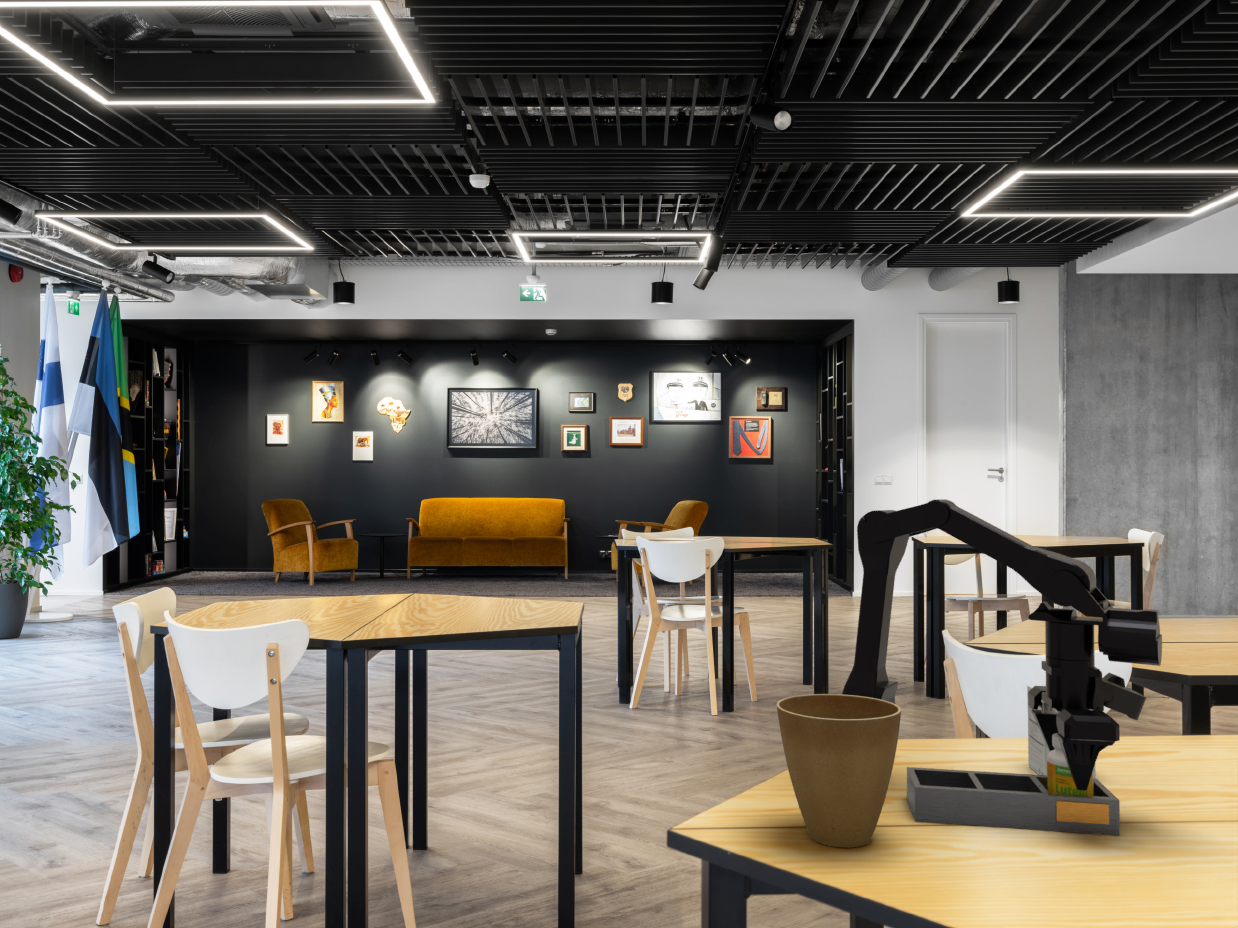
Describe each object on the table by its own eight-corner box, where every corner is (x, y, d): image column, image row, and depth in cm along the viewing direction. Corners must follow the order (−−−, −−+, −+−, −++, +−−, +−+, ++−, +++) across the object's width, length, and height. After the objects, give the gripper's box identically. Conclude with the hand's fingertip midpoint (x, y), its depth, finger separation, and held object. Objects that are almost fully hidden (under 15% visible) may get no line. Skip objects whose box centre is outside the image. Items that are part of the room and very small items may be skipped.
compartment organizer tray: (915, 821, 118) (915, 787, 118) (906, 798, 127) (906, 766, 127) (1120, 836, 113) (1120, 800, 113) (1096, 810, 122) (1096, 778, 122)
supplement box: (1076, 767, 142) (1075, 685, 142) (1096, 782, 134) (1095, 695, 135) (1026, 766, 142) (1026, 684, 143) (1044, 781, 135) (1043, 694, 136)
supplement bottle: (1051, 817, 117) (1049, 739, 117) (1045, 804, 122) (1043, 729, 123) (1098, 821, 115) (1096, 742, 116) (1090, 807, 121) (1088, 732, 121)
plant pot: (914, 828, 115) (914, 700, 116) (883, 870, 102) (883, 725, 103) (800, 808, 123) (800, 687, 123) (758, 844, 110) (758, 709, 110)
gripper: (1166, 673, 109) (1167, 807, 108) (1112, 647, 127) (1114, 762, 126) (1064, 669, 111) (1066, 800, 110) (1026, 644, 129) (1027, 757, 129)
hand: (1070, 778), depth 119 cm, fingers open, 9 cm apart
